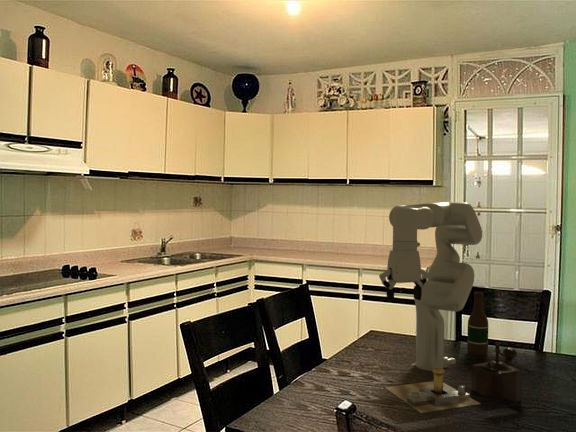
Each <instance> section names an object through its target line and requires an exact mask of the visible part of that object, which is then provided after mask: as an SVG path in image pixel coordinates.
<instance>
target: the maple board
mask: <svg viewBox="0 0 576 432" xmlns="http://www.w3.org/2000/svg"><path fill="white" fill-rule="evenodd" d="M443 386H444V387H445V388H447V389H449V390H451V391H452V392H453V391H458V389H456V388H454V387H452V386H451V385H448V384H446V383H445V382H443ZM430 387H434V380H432V381H430V380H429V381H423V382H417V383H409V384H400V385H393V386H392V385H391V386H385V389H387V390H388V391H389V392H390V393H392V394H394V395H395V396H396V397H398V398H399V399H400V400H402V401H403V402H405V403H406V404H408V405H410V406H411V408H413V409H415V410H416V411H418V412H419V413H420V414H423V413H424V414H425V413H428V412H429V413H430V412H436V411H437V412H438V411H444V410H448V409H456V408H457V409H458V408H462V407H470V406H471V407H472V406H475V405H476V406H477V405H481V404H482V403H481V402H479V401H477V400H475V399H474V398H472V397H470V399H464V400H459V404H454V405H447V406H440V407H434V406H433V405H431V404H429V405H422V406H415V407H414V406H413V405H411V404H410V403H408V402H407V394H409V393H412V392H420V389H422V388H430Z"/></svg>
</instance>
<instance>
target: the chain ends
mask: <svg viewBox="0 0 576 432" xmlns="http://www.w3.org/2000/svg"><path fill="white" fill-rule="evenodd" d="M457 390H458V391H453V392H452V391H451V390H449V389H447V388H445V387H444V386H443V395H436V394H434V387H430V388H422V389H420V392H412V393H409V394H407V402H408V403H410V404H411V405H413V406H414V407H415V406H422V405H429V404H431V405H433V406H434V407H440V406H447V405H454V404H459V400H464V399H470V398H471V394H470V393H468V392H467V387H466V386H465V385H458V386H457ZM408 403H407V404H408Z"/></svg>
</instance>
